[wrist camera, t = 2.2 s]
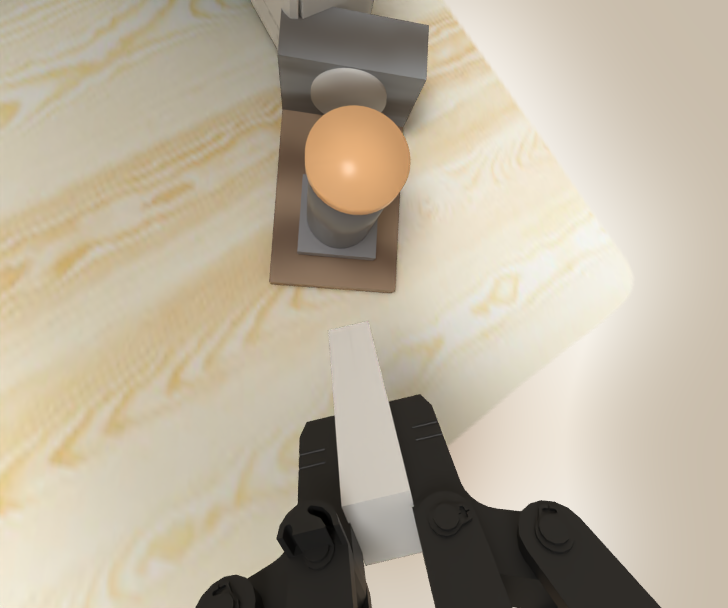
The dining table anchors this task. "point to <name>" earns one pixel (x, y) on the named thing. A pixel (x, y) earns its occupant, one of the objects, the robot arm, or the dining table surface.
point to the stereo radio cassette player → (301, 10)
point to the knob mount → (330, 91)
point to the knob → (349, 181)
